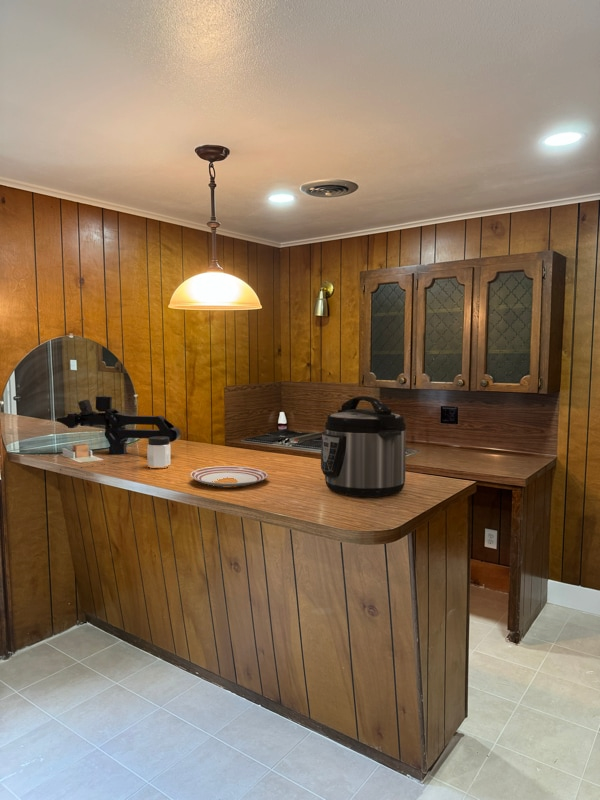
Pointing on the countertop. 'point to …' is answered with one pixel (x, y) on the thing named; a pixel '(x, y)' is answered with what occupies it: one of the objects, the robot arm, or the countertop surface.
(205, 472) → the dinner plate
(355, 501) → the countertop surface
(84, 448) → the block
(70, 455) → the channel
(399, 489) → the pressure cooker
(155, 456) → the jar
